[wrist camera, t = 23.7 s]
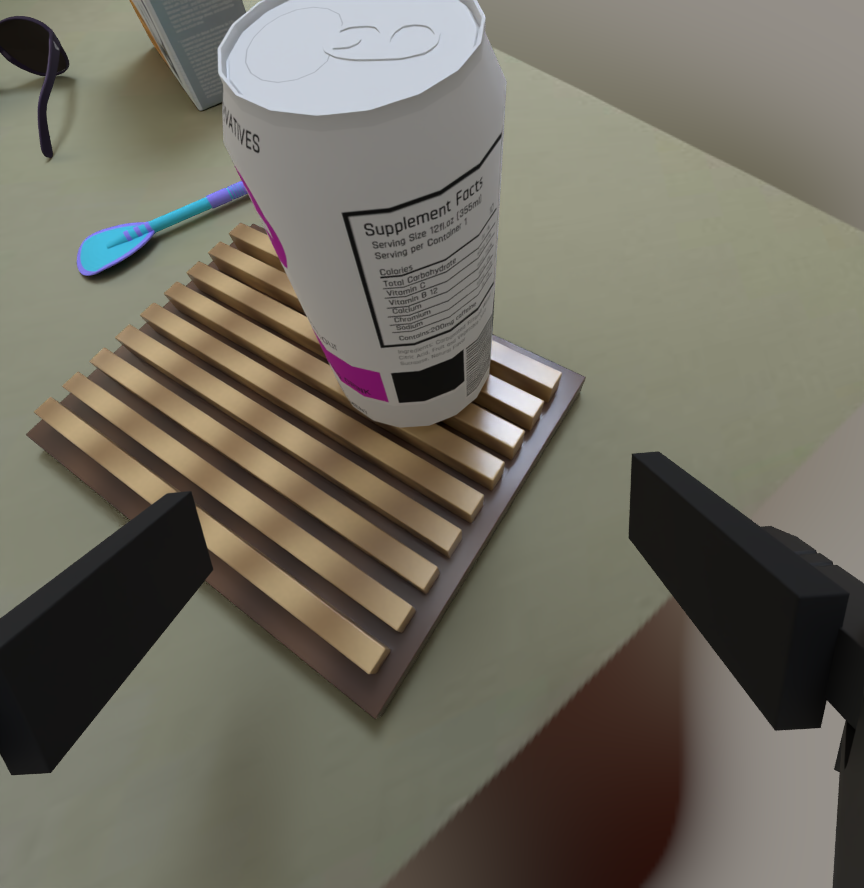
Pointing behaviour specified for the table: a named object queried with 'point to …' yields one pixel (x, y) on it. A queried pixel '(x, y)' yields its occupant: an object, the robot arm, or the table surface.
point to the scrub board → (303, 465)
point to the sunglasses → (34, 61)
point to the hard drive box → (191, 40)
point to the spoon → (142, 232)
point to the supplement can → (377, 186)
